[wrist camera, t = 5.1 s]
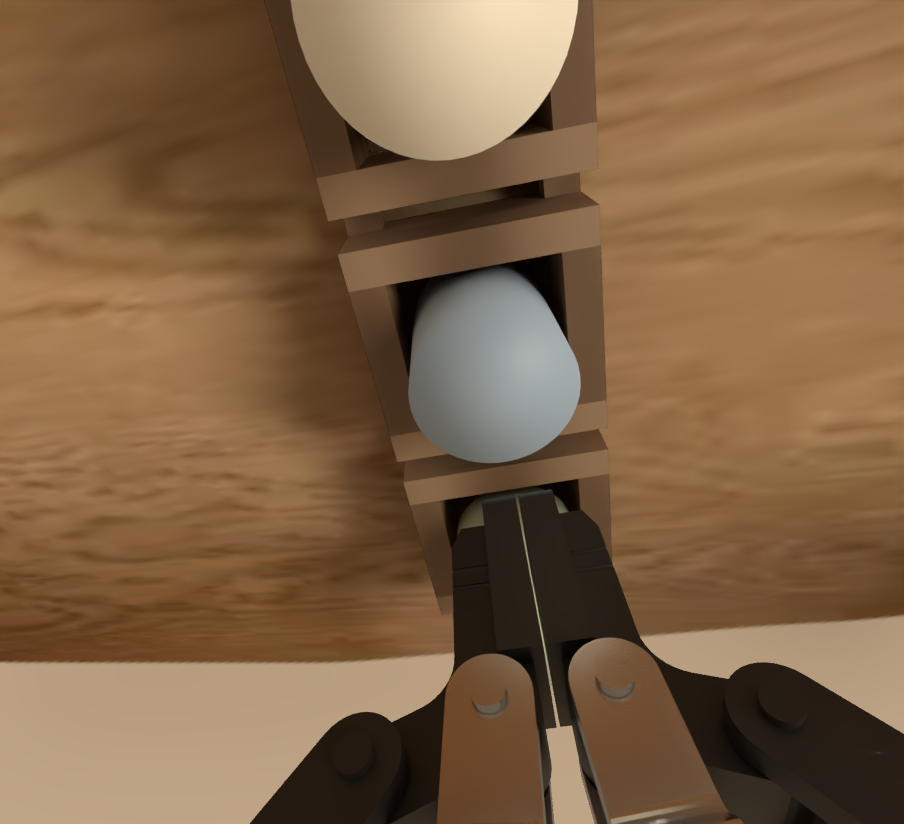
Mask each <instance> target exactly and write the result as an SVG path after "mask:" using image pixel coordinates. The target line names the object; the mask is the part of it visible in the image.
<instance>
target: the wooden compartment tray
mask: <svg viewBox="0 0 904 824" xmlns="http://www.w3.org/2000/svg"><path fill="white" fill-rule="evenodd" d="M264 1H265V4H266V8H267V11H268V15H269V18H270V22H271V25H272V29H273V32H274V36H275V39H276V43H277V46H278V50H279V53H280V56H281V60H282V63H283V67H284V70H285V74H286V77H287V81H288V84H289V88H290V91H291V95H292V98H293V102H294V105H295V109H296V112H297V115H298V119H299V122H300V126H301V129H302V133H303V136H304V140H305V143H306V147H307V150H308V154H309V157H310V161H311V164H312V168H313V171H314V174H315V178H316V181H317V185H318V188H319V192H320V195H321V199H322V202H323V206H324V209H325V213H326V216H327V220H328V221H333V220H338V219H344V223H345V226H346V230H347V234H348V238H347V239H346V241H345V243H344V245H343V246H342V248H341V250H340V252H339V253H338V258H339V261H340V265H341V268H342V272H343V275H344V279H345V282H346V285H347V289H348V292H349V296H350V299H351V303H352V306H353V310H354V313H355V317H356V320H357V324H358V327H359V331H360V334H361V338H362V341H363V344H364V348H365V351H366V355H367V358H368V362H369V365H370V369H371V372H372V376H373V379H374V383H375V386H376V390H377V393H378V397H379V400H380V403H381V407H382V410H383V414H384V417H385V421H386V424H387V428H388V431H389V435H390V438H391V442H392V445H393V449H394V452H395V455H396V459H397V462H401V461H405V466H404V479H403V483H404V487H405V490H406V494H407V497H408V501H409V504H410V508H411V511H412V514H413V518H414V521H415V525H416V528H417V532H418V535H419V539H420V542H421V546H422V549H423V553H424V556H425V560H426V563H427V567H428V570H429V573H430V577H431V580H432V584H433V587H434V591H435V594H436V598H437V601H438V605H439V608H440V612H441V615H443V614H450V613H453V579H452V574H453V571H452V547H453V545H454V543H455V540H456V538H457V526H456V522H455V518H454V514H453V509H452V505H451V501H450V499H454V498H460V497H466V496H472V495H479V494H485V493H491V492H498V491H504V490H510V489H516V488H523V487H529V486H535V485H542V484H548V483H554V482H561V481H565V490H566V501H567V508H568V510H569V512H572V511H578V510H583V511H584V512H585V513H586V514H587V515H588V516H589V517H590V518H591V519H592V520H593V521H594V522H595V523H596V524H597V525H598V526H599V528H600V531H601V534H602V536H603V539H604V542H605V545H606V549H607V550H608V553H609V556H610V558H611V561H612V545H611V517H610V488H609V460H608V448H607V446H606V444H605V442H604V440H603V438H602V436H601V433H600V431H599V429H602V428H607V402H606V374H605V345H604V317H603V288H602V259H601V231H600V205H599V204H598V203H597V202H595V201H594V200H592V199H591V198H589V197H588V196H587V195H585V194H584V193H582V192H581V190H580V172H583V171H588V170H593V169H598V145H597V117H596V88H595V59H594V31H593V2H592V0H578V10H577V16H576V21H575V27H574V32H573V36H572V40H571V43H570V46H569V50H568V53H567V56H566V59H565V61H564V63H563V66H562V68H561V71H560V73H559V75H558V77H557V79H556V81H555V83H554V84H553V86H552V88H551V90H550V92H549V93H548V95H547V96H546V98H545V99H544V100H543V102H542V103H541V105H540V106H539V108H538V109H537V110H536V111H535V112H534V113H533V114H532V122H533V123H531V124H526V125H522V126H521V127H520V128H518V129H517V130H516V131H515V132H514V133H513V134H512V135H510V136H509V137H507V138H506V139H504V140H503V141H501V142H500V143H498V144H497V145H495V146H493V147H491V148H489V149H486V150H484V151H482V152H480V153H477V154H474V155H471V156H468V157H464V158H458V159H453V160H439V161H431V160H422V159H415V158H411V157H407V156H403V155H399V154H397V153H394V152H388V153H383V154H379V155H374V156H369V153H368V148H367V144H366V140H365V136H363V135H362V134H361V133H359V132H358V131H357V130H356V129H354V128H353V127H352V126H351V125H350V124H349V123H348V122H347V121H346V120H345V119H344V118H343V117H342V116H341V115H340V114H339V113H338V112H337V110H336V109H335V108H334V107H333V105H332V104H331V103H330V102H329V100H328V99H327V98H326V96H325V95H324V93H323V91H322V90H321V88H320V87H319V85H318V84H317V82H316V80H315V78H314V76H313V74H312V72H311V70H310V68H309V66H308V64H307V62H306V59H305V56H304V54H303V51H302V48H301V45H300V43H299V39H298V35H297V31H296V27H295V23H294V19H293V13H292V6H291V0H264ZM537 180H538V189H539V192H538V193H533V194H528V195H522V196H517V197H512V198H507V199H502V200H497V201H492V202H486V203H481V204H476V205H471V206H466V207H461V208H456V209H450V210H445V211H440V212H435V213H430V214H425V215H420V216H414V217H409V218H404V219H399V220H394V221H389V222H385V221H384V216H383V212H382V211H384V210H389V209H394V208H399V207H404V206H410V205H415V204H420V203H425V202H430V201H435V200H440V199H445V198H450V197H455V196H461V195H466V194H471V193H476V192H481V191H486V190H491V189H496V188H501V187H506V186H512V185H517V184H522V183H527V182H532V181H537ZM540 256H545V267H546V278H547V289H548V300H549V308H550V310H551V312H552V314H553V316H554V317H555V319H556V321H557V323H558V325H559V327H560V329H561V331H562V333H563V334H564V336H565V338H566V340H567V342H568V344H569V346H570V348H571V350H572V351H573V353H574V355H575V358H576V360H577V363H578V366H579V371H580V380H581V387H580V396H579V400H578V403H577V406H576V409H575V411H574V414H573V415H572V417H571V419H570V421H569V422H568V424H567V425H566V426H565V428H564V429H563V430H562V432H561V433H560V434H559V435H558V436H557V437H556V438H555V439H553V440H552V441H551V442H550V443H548V444H547V445H546V446H544V447H543V448H541V449H540V450H538V451H536V452H534V453H532V454H530V455H528V456H525V457H522V458H519V459H516V460H512V461H507V462H500V463H479V462H473V461H467V460H464V459H461V458H457V457H455V456H453V455H450V454H448V453H447V452H445V451H443V450H441V449H440V448H438V447H437V446H436V445H434V444H433V443H432V442H431V441H430V440H429V439H428V438H427V437H426V436H425V435H424V434H423V432H422V431H421V430H420V428H419V427H418V425H417V423H416V421H415V419H414V417H413V414H412V412H411V408H410V404H409V394H408V389H409V376H410V364H411V351H412V335H411V331H410V327H409V322H408V318H407V314H406V310H405V306H404V301H403V297H402V293H401V289H400V284H399V283H401V282H406V281H412V280H417V279H422V278H428V277H433V276H438V275H444V274H449V273H454V272H460V271H465V270H471V269H476V268H481V267H487V266H492V265H497V264H503V263H508V262H513V261H519V260H524V259H529V258H535V257H540Z"/></svg>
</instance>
